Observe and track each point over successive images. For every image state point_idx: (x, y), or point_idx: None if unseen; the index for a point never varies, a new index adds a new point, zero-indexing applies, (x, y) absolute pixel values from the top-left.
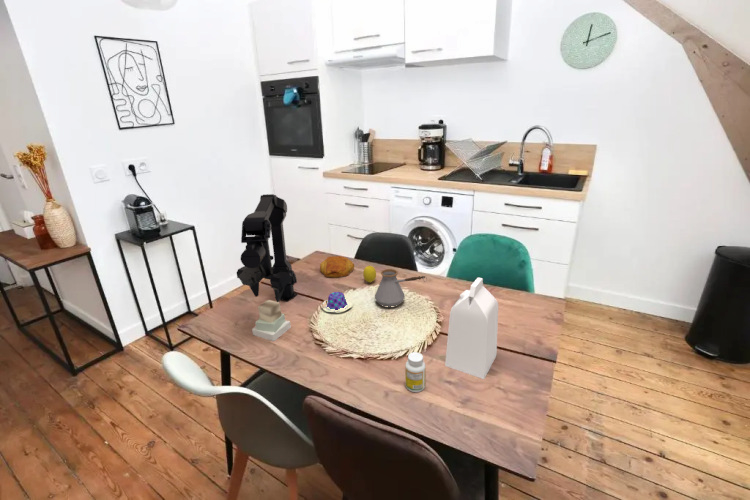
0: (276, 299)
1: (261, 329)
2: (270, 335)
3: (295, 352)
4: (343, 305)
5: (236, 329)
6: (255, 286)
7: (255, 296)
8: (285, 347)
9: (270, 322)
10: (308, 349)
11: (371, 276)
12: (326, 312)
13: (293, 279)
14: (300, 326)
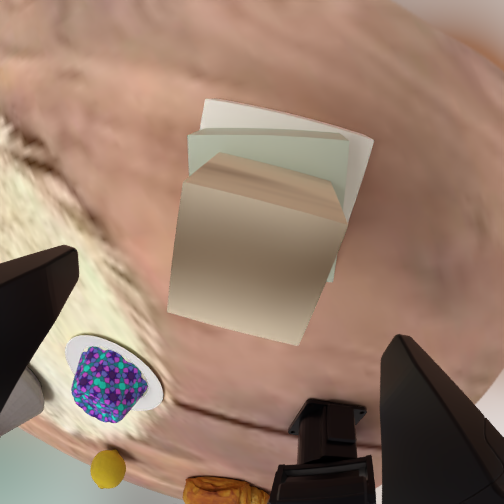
0: (44, 258)
1: (304, 131)
2: (228, 102)
3: (79, 57)
4: (77, 367)
5: (467, 179)
6: (420, 459)
7: (407, 336)
8: (133, 70)
9: (229, 154)
10: (46, 97)
11: (95, 460)
12: (119, 344)
13: (272, 487)
14: (154, 245)
